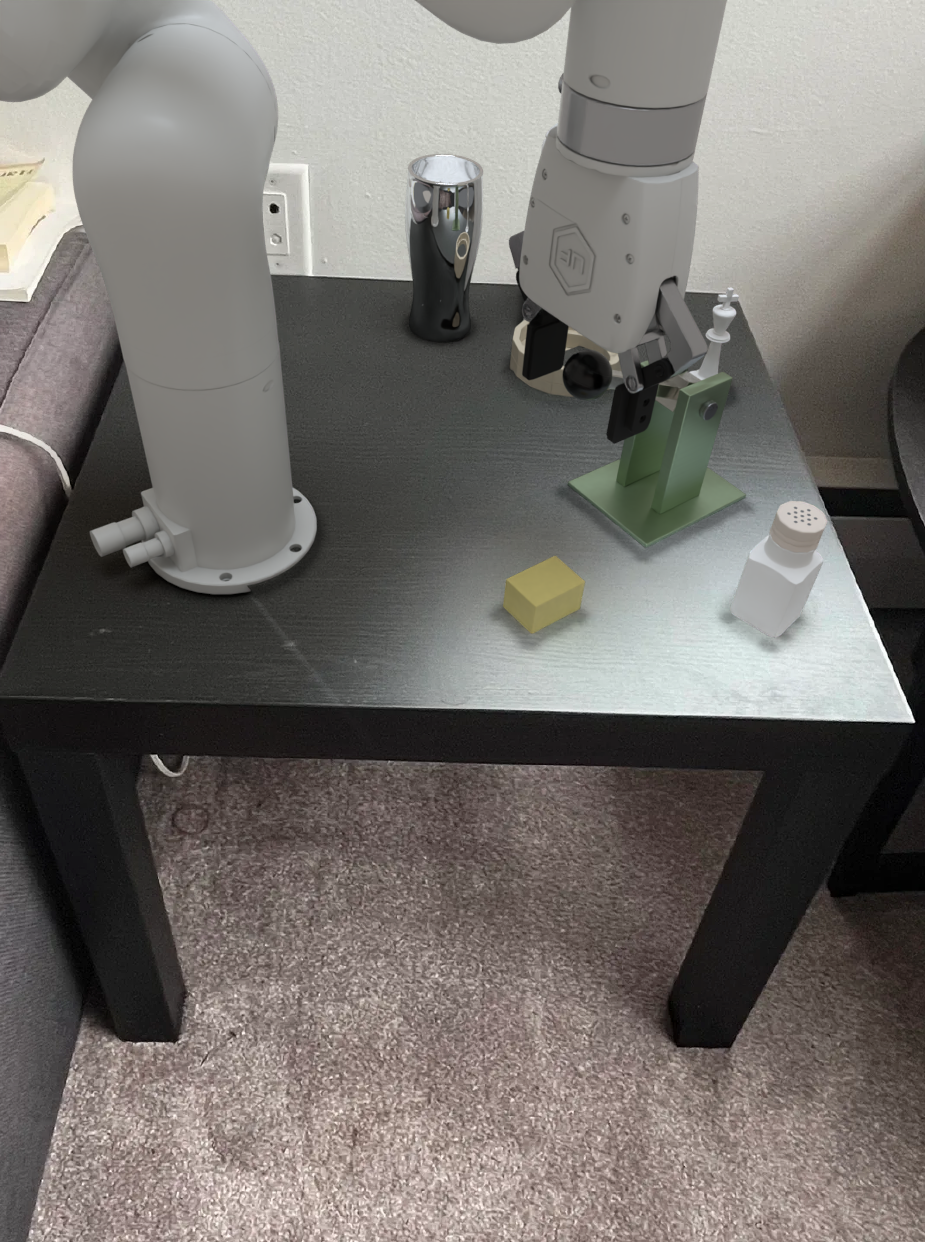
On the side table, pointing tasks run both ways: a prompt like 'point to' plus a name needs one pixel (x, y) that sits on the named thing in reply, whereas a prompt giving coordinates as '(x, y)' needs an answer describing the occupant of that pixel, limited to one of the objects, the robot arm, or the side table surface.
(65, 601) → the side table surface
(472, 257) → the beer glass
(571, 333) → the beige bottomless ring
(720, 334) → the chess piece
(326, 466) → the side table surface
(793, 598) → the pepper shaker
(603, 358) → the lever
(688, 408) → the green lever stand
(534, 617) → the butter
